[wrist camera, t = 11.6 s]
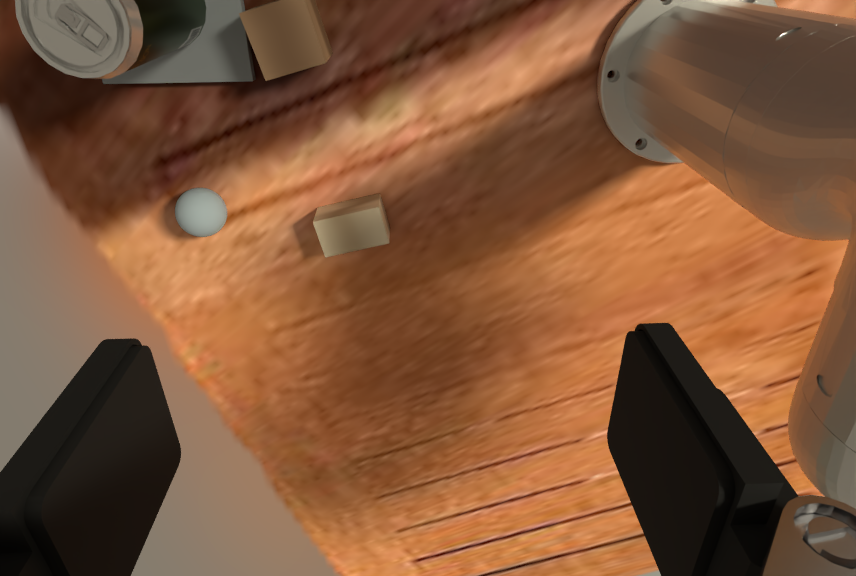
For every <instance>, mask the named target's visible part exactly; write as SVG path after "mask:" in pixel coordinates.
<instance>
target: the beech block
mask: <svg viewBox="0 0 856 576" xmlns="http://www.w3.org/2000/svg"><path fill="white" fill-rule="evenodd" d="M313 224H314V227H315V230H316V233H317V236H318V238H319V241H320V244H321V247H322V250H323V252H324V255H325V258H326V257H330V256H335V255H339V254H344V253H348V252H353V251H357V250H362V249H366V248H371V247H375V246H380V245H384V244H389V241H390V226H389V222H388V219H387V215H386V212H385V208H384V205H383V201H382V198H381V194H380V193H378V194H374V195H369V196H365V197H361V198H356V199H352V200H347V201H343V202H339V203H334V204H330V205H326V206H321V207H318V208H317V211H316V214H315V217H314V220H313Z"/></svg>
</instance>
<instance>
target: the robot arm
mask: <svg viewBox="0 0 856 576" xmlns="http://www.w3.org/2000/svg"><path fill="white" fill-rule="evenodd" d="M611 70H612V71H613V74H612V76H611V77H607V74H608V72H609V71H611ZM597 80H598V100H599V105H600V110H601V113H602V116H603V118H604V120H605V123H606V125H607V127H608V128H609V130H610V131H611V132H612V134H613V135H614V136H615V138H616V139H617V140H618V141H619V142H620V143H621V144H623V145H624V146H625V147H626V148H627V149H629V150H630V151H631V152H633V153H634V154H636V155H638V156H641V157H643V158H646V159H648V160H650V161H656V162H662V163H685V164H687V165H688V166H689V167H690V168H692V169H693V170H694V171H696V172H697V173H698V174H700V175H701V176H702V177H704V178H705V179H706V180H708V181H709V182H710V183H711V184H713V185H714V186H715V187H717V188H718V189H719V190H721V191H722V192H723V193H725V194H726V195H727V196H729V197H730V198H731V199H732V200H734V201H735V202H736V203H738V204H739V205H741V206H742V207H744V208H745V209H746V210H748V211H749V212H750V213H752V214H753V215H754V216H756V217H757V218H758V219H760V220H761V221H763V222H764V223H766V224H767V225H769V226H771V227H772V228H774V229H776V230H779V231H781V232H783V233H786V234H789V235H792V236H795V237H800V238H805V239H812V240H822V241H836V240H849V243H848V246H847V249H846V252H845V256H844V258H843V261H842V264H841V267H840V269H839V272H838V274H837V277H836V279H835V282H834V291H833V293H832V296H831V298H830V301H829V303H828V306H827V308H826V311H825V313H824V316H823V319H822V321H821V324H820V326H819V329H818V331H817V334H816V336H815V339H814V341H813V344H812V347H811V349H810V352H809V354H808V357H807V359H806V362H805V364H804V367H803V369H802V372H801V375H800V378H799V380H798V383H797V386H796V389H795V392H794V396H793V399H792V402H791V406H790V410H789V418H788V434H789V440H790V444H791V448H792V451H793V454H794V456H795V458H796V460H797V462H798V464H799V466H800V467H801V469H802V471H803V472H804V474H805V475H806V476H807V478H808V479H809V480H810V481H811V482H812V483H813V485H814V486H815V487H816V488H817V489H818V490H819V491H820V492H821V493H822V494H823V495H824V496H825V497H823V496H815V495H807V496H798V495H797V494H796V492H795V491H794V489H793V488H792V487H791V485H790V484H789V482H788V481H787V480H786V478H785V477H784V476H783V474H782V473H781V471H780V470H779V469H778V467H777V466H776V464H775V463H774V462H773V460H772V459H771V458H770V456H769V455H768V453H767V452H766V451H765V449H764V448H763V446H762V445H761V444H760V442H759V441H758V440H757V438H756V437H755V435H754V434H753V433H752V431H751V430H750V428H749V427H748V426H747V424H746V423H745V422H744V420H743V419H742V417H741V416H740V415H739V413H738V412H737V410H736V409H735V408H734V406H733V405H732V404H731V402H730V401H729V399H728V398H727V397H726V395H725V394H724V393H723V392H722V391H721V390H719V389H717V388H716V387H715V386H714V384H713V383H712V381H711V380H710V379H709V377H708V376H707V374H706V373H705V372H704V370H703V369H702V367H701V366H700V365H699V363H698V362H697V360H696V359H695V358H694V356H693V355H692V353H691V352H690V351H689V349H688V348H687V346H686V345H685V344H684V342H683V341H682V339H681V338H680V337H679V335H678V334H677V332H676V331H675V330H674V328H673V327H672V326H671V325H670V324H669V323H649V324H639V325H637V327H636V328H635V331H630V332H628V333H627V335H626V339H625V344H624V349H623V355H622V360H621V365H620V370H619V375H618V380H617V385H616V391H615V396H614V401H613V406H612V411H611V416H610V421H609V427H608V433H607V439H608V446H609V449H610V452H611V455H612V457H613V459H614V462H615V464H616V467H617V469H618V472H619V474H620V476H621V479H622V481H623V484H624V486H625V489H626V491H627V493H628V496H629V498H630V501H631V503H632V506H633V508H634V510H635V513H636V515H637V518H638V520H639V523H640V525H641V527H642V530H643V532H644V535H645V537H646V540H647V542H648V544H649V547H650V549H651V552H652V554H653V557H654V559H655V561H656V564H657V566H658V569H659V571H660V574H661V576H856V19H853V18H847V17H840V16H834V15H827V14H820V13H814V12H807V11H801V10H794V9H788V8H781V7H778V6H777V4H776V2H775V1H774V0H662V1H660V0H637V1H636V2H635V3H634V4H633V5H632V6H631V7H630V8H629V9H628V10H627V12H626V13H625V14H624V16H623V17H622V18H621V19H620V21H619V22H618V23H617V25H616V27H615V28H614V30H613V32H612V34H611V36H610V37H609V39H608V41H607V44H606V46H605V49H604V52H603V55H602V58H601V61H600V67H599V72H598V78H597ZM638 139H640V142H639V143H637V144H635V143H636V141H637V140H638ZM180 458H181V448H180V443H179V440H178V437H177V434H176V431H175V427H174V424H173V421H172V417H171V414H170V411H169V408H168V404H167V401H166V398H165V395H164V391H163V389H162V385H161V382H160V379H159V375H158V372H157V369H156V366H155V363H154V359H153V356H152V353H151V350H150V348H149V347H148V346H142V345H141V343H140V341H139V340H137V339H106V340H103V341H102V342H101V343H100V344H99V345H98V347H97V348H96V349H95V351H94V352H93V353H92V354H91V356H90V357H89V358H88V359H87V361H86V362H85V364H84V365H83V366H82V367H81V369H80V370H79V371H78V373H77V374H76V375H75V376H74V378H73V379H72V380H71V382H70V383H69V384H68V385H67V387H66V388H65V389H64V391H63V392H62V393H61V395H60V396H59V397H58V398H57V400H56V401H55V403H54V404H53V405H52V406H51V407H50V409H49V410H48V411H47V413H46V414H45V415H44V416H43V418H42V419H41V420H40V422H39V423H38V424H37V426H36V427H35V428H34V429H33V431H32V432H31V433H30V435H29V436H28V437H27V439H26V440H25V441H24V442H23V444H22V445H21V446H20V448H19V449H18V450H17V452H16V453H15V454H14V455H13V457H12V458H11V459H10V461H9V462H8V463H7V465H6V466H5V467H4V468H3V470H2V471H1V472H0V576H131V573H132V571H133V569H134V566H135V564H136V562H137V560H138V557H139V555H140V553H141V550H142V548H143V546H144V544H145V541H146V539H147V537H148V534H149V532H150V530H151V528H152V525H153V523H154V521H155V518H156V516H157V514H158V512H159V509H160V507H161V505H162V502H163V500H164V498H165V496H166V493H167V491H168V489H169V486H170V484H171V482H172V479H173V477H174V475H175V473H176V470H177V468H178V466H179V463H180Z"/></svg>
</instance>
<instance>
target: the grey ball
mask: <svg viewBox="0 0 856 576" xmlns="http://www.w3.org/2000/svg"><path fill="white" fill-rule="evenodd" d="M175 216H176V220H177V222H178V224H179V225H180V227H181V228H182V229H183V230H184V231H186V232H187V233H189V234H191V235H194V236H198V237H207V236H211V235H213V234H215V233H217V232H218V231H220V230H221V228H222V227H223V226H224V224H225V222H226V219H227V208H226V205H225V202H224V201H223V199H222V198H221V197H220V196H219V195H218V194H217V193H216V192H214V191H212V190H210V189H207V188H193V189H190V190H188V191H186V192H185V193H183V194H182V195H181V196H180V197H179V199H178V201H177V203H176V206H175Z"/></svg>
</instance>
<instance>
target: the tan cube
mask: <svg viewBox="0 0 856 576" xmlns="http://www.w3.org/2000/svg"><path fill="white" fill-rule="evenodd" d="M239 15H240V18H241V20H242V23H243V25H244V28H245V30H246V33H247V35H248V38H249V40H250V43H251V45H252V48H253V50H254V53H255V55H256V58H257V60H258V63H259V65H260V68H261V70H262V73H263V76H264V78H265V81H268V80H271V79H274V78H278V77H281V76H284V75H288V74H291V73H294V72H298V71H301V70H304V69H308V68H311V67H314V66H318V65H321V64H324V63H326V62H327V61H328V59H329V58H330V57H331V55H332V54H333V52H332V49H331V46H330V43H329V40H328V37H327V34H326V31H325V29H324V26H323V23H322V20H321V17H320V14H319V11H318V8H317V5H316V2H315V0H277V1H274V2H270V3H267V4H264V5H261V6H258V7H255V8H252V9H249V10H246V11H244V12H241V13H239Z"/></svg>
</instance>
